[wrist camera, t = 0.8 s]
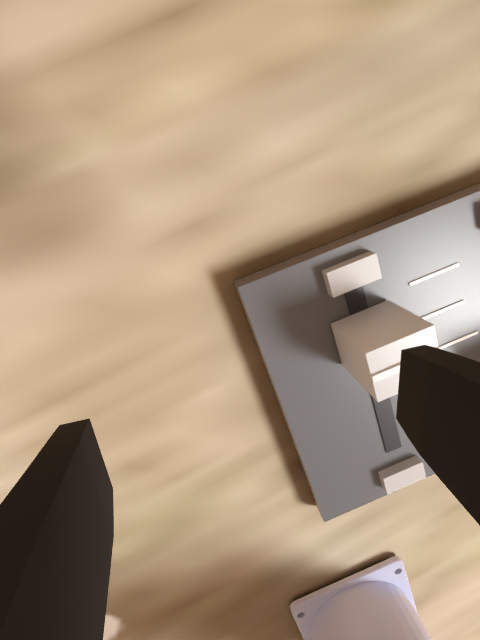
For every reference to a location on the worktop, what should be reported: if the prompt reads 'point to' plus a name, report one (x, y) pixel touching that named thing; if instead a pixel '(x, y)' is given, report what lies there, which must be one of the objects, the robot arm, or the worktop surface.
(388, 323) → the cream slider knob
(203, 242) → the worktop surface
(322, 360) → the fader console
